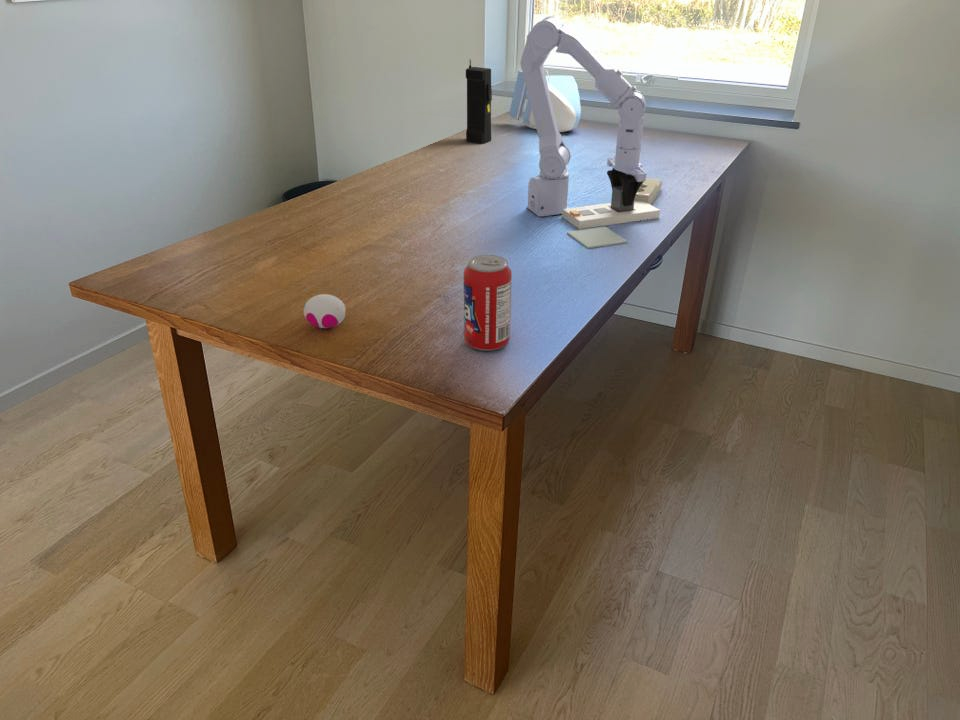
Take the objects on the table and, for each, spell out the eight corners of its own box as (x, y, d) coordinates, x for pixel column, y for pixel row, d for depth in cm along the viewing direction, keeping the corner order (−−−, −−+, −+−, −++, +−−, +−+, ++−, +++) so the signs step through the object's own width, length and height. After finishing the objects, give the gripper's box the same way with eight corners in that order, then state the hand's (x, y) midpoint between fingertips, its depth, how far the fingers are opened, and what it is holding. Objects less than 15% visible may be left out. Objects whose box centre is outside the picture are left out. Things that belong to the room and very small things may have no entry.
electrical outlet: (662, 176, 201) (649, 195, 187) (660, 190, 203) (647, 211, 189) (636, 173, 204) (621, 192, 189) (634, 187, 206) (619, 207, 191)
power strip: (579, 229, 177) (580, 218, 175) (562, 216, 184) (562, 206, 182) (659, 217, 184) (660, 207, 182) (639, 206, 191) (640, 196, 189)
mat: (587, 248, 166) (587, 246, 166) (567, 233, 174) (567, 231, 174) (626, 242, 169) (627, 241, 169) (604, 228, 177) (605, 226, 177)
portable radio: (495, 140, 247) (496, 60, 235) (485, 144, 243) (486, 62, 230) (474, 137, 251) (475, 58, 238) (465, 141, 246) (464, 60, 234)
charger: (618, 219, 182) (621, 191, 179) (610, 214, 186) (612, 186, 182) (632, 217, 184) (635, 189, 180) (624, 212, 187) (626, 185, 183)
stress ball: (305, 344, 135) (292, 327, 129) (315, 305, 138) (303, 287, 132) (345, 347, 133) (334, 329, 127) (354, 307, 137) (343, 289, 131)
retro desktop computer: (522, 53, 251) (556, 48, 260) (508, 116, 267) (541, 109, 275) (571, 86, 239) (605, 80, 248) (553, 149, 255) (586, 141, 263)
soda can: (506, 356, 125) (508, 273, 117) (459, 352, 126) (459, 269, 118) (512, 334, 131) (515, 254, 124) (468, 330, 133) (468, 251, 125)
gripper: (660, 152, 171) (653, 209, 178) (627, 137, 183) (621, 192, 190) (633, 155, 169) (627, 213, 176) (601, 140, 181) (597, 195, 188)
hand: (622, 202), depth 183 cm, fingers closed on charger, 4 cm apart
